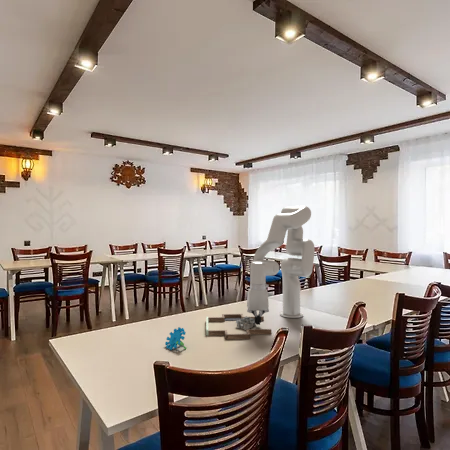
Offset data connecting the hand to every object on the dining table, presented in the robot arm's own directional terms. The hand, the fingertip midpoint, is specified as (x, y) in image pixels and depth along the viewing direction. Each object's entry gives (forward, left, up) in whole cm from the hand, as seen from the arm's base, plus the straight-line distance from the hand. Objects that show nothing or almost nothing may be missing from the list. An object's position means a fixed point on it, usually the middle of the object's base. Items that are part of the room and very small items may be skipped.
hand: (258, 324), depth 166 cm
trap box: (0, -10, -1) cm, 10 cm away
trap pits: (0, -10, -1) cm, 10 cm away
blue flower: (+25, -38, -2) cm, 45 cm away
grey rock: (-2, -6, -2) cm, 6 cm away
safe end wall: (0, -25, -1) cm, 25 cm away
